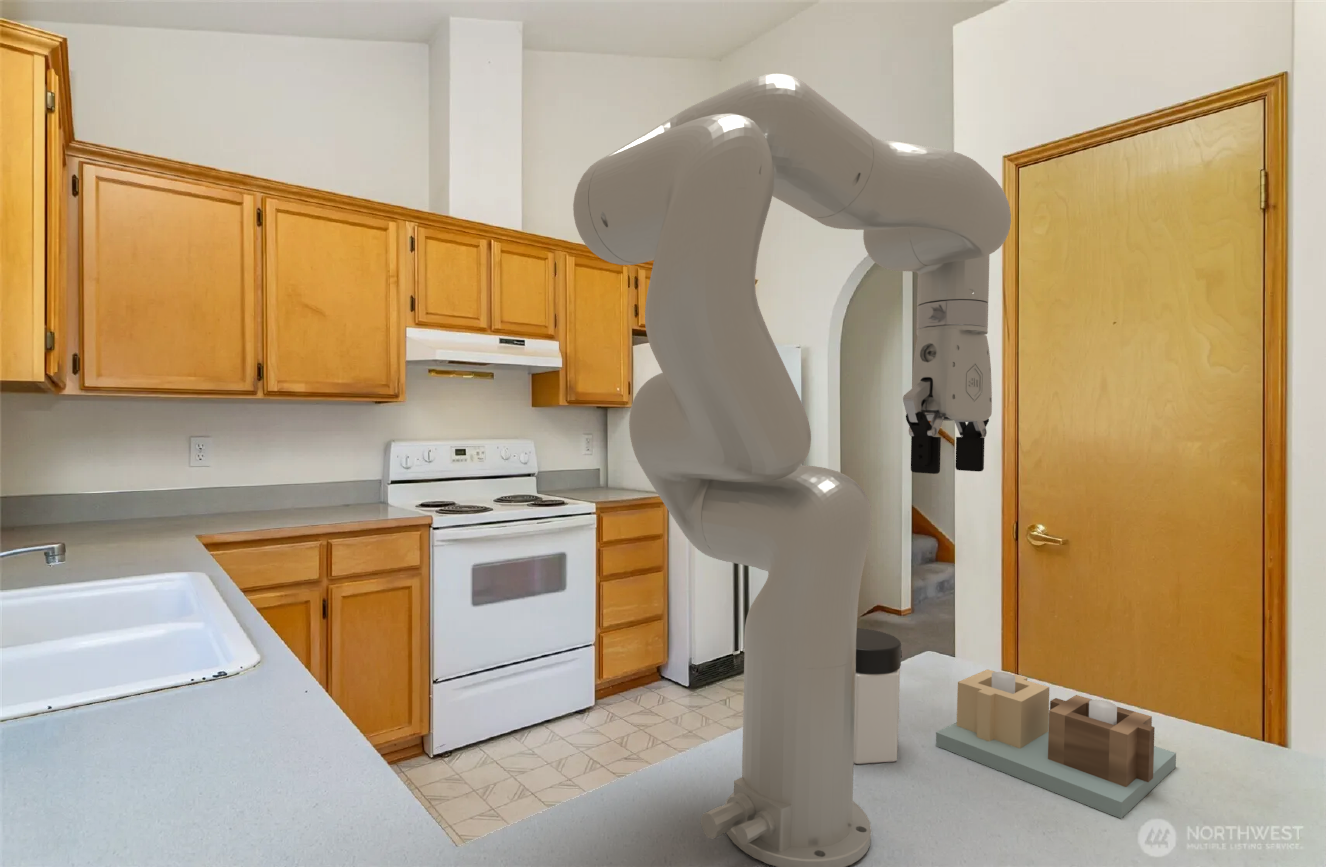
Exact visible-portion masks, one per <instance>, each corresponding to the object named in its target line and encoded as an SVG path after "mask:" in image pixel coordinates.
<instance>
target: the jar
mask: <svg viewBox="0 0 1326 867" xmlns="http://www.w3.org/2000/svg"><path fill="white" fill-rule="evenodd" d="M902 653H903V652H902V642H901V640H900V639H898V638H897V637H896V636H894V635H892V634H890V633H887V632H883V631H878V630H874V629H869V628H862V627H861V628H858V627H857V633H856V683H855V725H854V764H856V765H861V764H877V763H878V764H879V763H891V762H896V761H897V760H898V751H899V735H900V734H899V732H900V731H899V730H900V729H899V727H900V725H899V724H900V723H899V722H900V720H899V719H900V694H901V693H900V690H901V688H900V684H901V667H902V658H903V656H902V655H903V654H902Z"/></svg>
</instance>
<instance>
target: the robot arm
mask: <svg viewBox="0 0 1326 867" xmlns="http://www.w3.org/2000/svg"><path fill="white" fill-rule="evenodd" d="M773 197H774V198H775V199H777V200H778V201H780V202H783V203H785V204H787V205H788V206H790V207H792V208H794V209H796V210H797V211H798V212H801V213H802V214H804V215H806V216H807V217H810V218H812V219H813V220H815V221H817V222H818V223H820V224H822V225H823V226H826V227H829V228H833V229H839V230H840V229H841V230H855V231H863V236H862V237H863V238H862V239H863V244H864V248H865V250H866V252H867V254H868V256H869V258H871V260H872V261H873V262H874V263H875V264H876V265H878V266H880V267H881V268H883V269H886V270H888V271H893V272H912V273H913V272H914V273H917V294H916V295H917V297H916V306H917V307H916V336H917V338H916V342H915V347H914V348H915V349H914V358H913V365H912V377H911V378H912V379H911V389H910V390H908V391H907V392H906V393H905V394H904V395H903V397H902V402H903V406H904V410H905V414H906V415H905V420H906V422H907V425H908V426H909V427H908V435H909V436H910V437H911V439H910V443H911V444H910V446H911V447H910V471H911V472H912V473H918V474H929V475H931V474H933V475H937V474H939V473H940V471H941V448H942V447H941V446H942V445H941V444H942V443H941V442H942V437H941V436H937V435H938V432H939V430H940V429H941V426H942V425H943V423H944V421H947V422H948V421H953V422H954V424H955V426H956V428H957V431H958V434H959V436H956V437H955V438H956V439H955V466H954V467H955V469H956V471H964V472H965V471H967V472H979V473H980V472H983V471H984V469H985V438H986V436H987V432H988V430H987V428H986V427H987V425H988V424H989V421H990V417H991V416H992V410H993V405H992V404H993V397H992V396H993V391H992V388H993V387H992V386H993V385H992V369H991V368H992V366H991V353H990V347H989V342H988V336H987V335H988V333H989V330H988V329H989V296H990V295H989V293H990V292H989V291H990V289H989V288H990V257H991V256H990V255H991V254H993V253H995V252H996V251H997V250H999V249H1000V248H1001V246H1003V244H1004V243H1005V241H1006V240H1007V238H1008V235H1009V233H1010V229H1011V222H1012V221H1011V220H1012V219H1011V218H1012V217H1011V216H1012V214H1011V206H1010V204H1009V200H1008V198H1007V196H1006V193H1005V191H1004V190H1003V188H1002V186H1001V185H1000V184H999V182H998V181H997V180H996V179H995V178H994V177H993V176H992V175H991V173H990V172H988V171H987V170H986V169H985V168H984V167H983V166H982V165H980V164H979V163H978V162H977V161H976V160H974V159H973V158H971V157H969V156H967V155H965V154H962V153H959V152H956V151H953V150H950V149H945V148H940V147H933V146H926V145H921V144H915V143H908V142H903V141H896V140H889V139H888V140H887V139H881V138H880V139H879V138H877V137H875V136H873V135H872V134H871V133H869V131H867V130H866V129H865V128H864V127H863V126H860V124H858V123H857V122H855V121H854V120H853V119H852V118H851V117H849V116H848V115H846V114H845V113H844V112H843V111H841V110H840V109H839V108H838V107H836V106H835V105H834V104H832V103H831V102H830V101H829V100H827V99H826V98H824V97H823V96H822V95H821V94H820V93H818V92H817V91H816V90H815V89H813V88H812V87H810V86H809V85H808V84H807V83H805V82H804V81H802V80H800V79H799V78H797V77H795V76H793V75H789V74H786V73H779V72H778V73H775V72H774V73H766V74H763V75H760V76H756V77H754V78H751V79H748V80H746V81H744V82H742V83H741V82H740V83H739V84H737V85H735V86H732V87H730V88H728V89H726V90H724V91H721V92H719V93H718V94H715V95H713V96H711V97H709V98H705V99H703V100H702V101H700V102H696V103H694V105H691V106H689V107H687V108H685V109H683V110H681V111H680V112H678V113H677V114H675V115H673V116H672V117H670V118H668V119H667V120H665V121H664V122H662V123H661V124H659V125H657V126H656V127H655V128H653V129H651V130H649V131H648V132H646V133H645V134H642V135H641V136H638V137H637V138H635V139H634V140H632V141H630V142H629V143H627V144H625V145H623V146H621V147H620V148H618V149H616V150H614V151H613V152H611V153H609V154H608V155H606V156H604V157H602V158H600V159H599V160H597V161H596V162H594V163H592V164H591V165H590V166H589V167H588V169H586V171H585V172H584V173H583V174H582V176H581V178H580V180H579V182H578V183H577V186H576V189H575V193H574V197H573V204H572V206H573V208H572V210H573V218H574V223H575V227H576V230H577V232H578V235H579V237H580V238H581V240H582V242H583V243H584V244H585V246H586V247H587V248H588V249H589V250H590V251H591V253H593V254H594V255H596V256H597V257H599V258H600V259H601V260H604V261H605V262H608V263H610V264H616V265H620V266H633V265H639V264H644V263H648V262H651V261H653V264H652V269H651V273H650V278H649V284H648V288H647V294H646V300H645V309H644V310H645V311H644V325H645V332H646V336H647V342H648V344H649V346H650V349H651V351H652V353H653V356H654V358H655V359H656V362H657V364H658V366H659V368H660V371H661V373H658V374H656V375H654V376H653V377H650V378H649V379H648V380H647V381H646V382H645V383H644V384H643V385H642V386H641V387H640V388H639V389H638V391H637V393H635V394H636V395H635V396H634V398H633V401H632V404H631V405H630V406H631V407H630V411H629V420H628V427H629V437H630V442H631V447H632V449H633V452H634V455H635V457H636V460H637V462H638V464H639V466H640V467H641V469H642V471H643V473H644V474H645V476H646V478H647V479H648V481H649V483H650V484H651V485H652V487H653V489H654V490H655V492H656V494H657V495H658V496H659V498H660V500H661V501H662V503H663V504H664V506H665V507H666V509H667V511H668V512H669V514H670V515H671V516H672V518H673V519H674V521H675V523H676V524H677V526H678V528H679V529H680V530H681V532H682V533H683V535H684V536H685V537H686V539H687V540H688V542H689V543H690V544H692V546H694V547H695V549H696V550H698V551H699V552H700V553H702V554H704V555H705V556H707V557H709V558H712V559H716V560H718V561H723V562H726V563H727V562H729V563H731V564H732V563H733V564H736V565H737V564H738V565H742V566H745V567H746V566H747V567H752V568H756V569H758V570H760V571H761V570H762V571H765V572H768V573H767V575H768V576H767V579H766V581H765V583H764V584H763V586H762V587H761V589H760V591H759V592H758V593H757V596H756V597H755V599H754V600H753V602H752V603H751V605H750V608H749V609H748V611H747V615H746V619H745V623H744V624H745V625H744V642H743V644H744V645H743V648H744V657H743V658H744V660H743V661H744V662H743V664H744V666H743V703H742V706H743V712H742V751H741V752H742V755H741V756H742V758H741V759H742V760H741V763H742V764H741V777H739V778H737V779H735V780H734V781H733V792H732V793H731V794H730V795H729V796H728V798H727V799H726V800H725V803H724V805H720V806H717V807H715V808H712V809H710V810H709V811H707V812H704V813H702V815H701V816H700V825H701V829H702V832H704V835H705V836H706V837H707V838H708V839H710V840H711V839H712V840H713V839H715V838H717V837H719V836H722V835H725V833H726V835H727V836H728V838H729V839H730V840H731V841H732V843H733V844H735V845H736V847H737V848H739V849H740V850H741V851H742V852H743V853H744V854H747V855H749V856H750V857H752V858H754V859H756V860H757V861H760V862H762V863H765V864H767V865H771V866H773V867H848V866H852V865H854V863H856V862H857V861H859V860H861V859H862V858H863V857H864V856H865V854H866V853H867V852H868V850H869V849H870V846H871V841H872V840H871V839H872V826H871V822H870V819H869V818H868V815H867V813H866V812H865V811H864V810H863V809H862V808H861V806H860V805H859V804H857V803H856V802H855V801H854V800H853V798H854V767H855V766H854V764H855V763H854V725H855V683H856V633H857V628H858V611H859V610H858V608H859V601H860V600H859V599H860V598H859V597H860V590H861V584H862V577H863V576H862V575H863V571H864V568H865V567H864V566H865V563H866V558H867V557H866V556H867V553H868V548H869V544H870V541H871V540H870V538H871V533H872V527H873V526H872V523H873V514H872V507H871V504H870V501H869V498H868V496H867V493H866V492H865V491H864V489H863V488H862V487H861V485H859V483H857V481H856V480H854V479H852V478H851V477H850V476H849V475H846V474H845V473H842V472H840V471H838V470H833V469H830V468H826V467H822V466H815V465H803V464H804V462H805V461H806V459H807V457H808V456H809V453H810V451H811V450H810V449H811V444H812V434H811V432H812V431H811V427H810V426H811V425H810V422H809V418H808V416H807V412H806V410H805V408H804V405H803V403H802V400H801V398H800V396H799V393H798V392H797V389H796V387H795V385H794V383H793V381H792V378H791V376H790V374H789V373H788V370H787V368H786V366H785V364H784V361H783V359H782V357H781V355H780V353H779V351H778V349H777V347H776V344H775V342H774V340H773V339H772V335H771V334H770V332H769V329H768V327H767V324H766V322H765V319H764V317H763V314H762V311H761V309H760V306H759V302H758V298H757V293H756V291H757V290H756V275H757V274H756V271H757V264H758V256H759V251H760V250H759V249H760V244H761V240H762V236H763V231H764V228H765V224H766V222H767V221H766V220H767V218H768V213H769V210H770V207H771V202H772V198H773Z"/></svg>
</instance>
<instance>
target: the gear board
mask: <svg viewBox="0 0 1326 867" xmlns="http://www.w3.org/2000/svg"><path fill="white" fill-rule="evenodd" d="M956 697H957V698H956V722H953V723H951V724H950V725H949V726H946V727H944V728H942V729H940V730H938V731H936V732H935V733H936V734H935V735H936V736H935V738H936V739H935V741H936V742H935V746H936V747H938V748H941V749H943V750H946V751H949V752H951V753H954V754H956V755H959V756H961V757H963V758H966V759H969V760H972V761H974V762H976V763H979V764H982V765H984V766H987V767H989V768H992V769H994V770H997V771H999V772H1001V773H1004V774H1006V775H1009V776H1012V777H1014V778H1017V779H1020V780H1023V781H1024V782H1026V783H1029V784H1032V785H1034V786H1037V787H1040V788H1041V789H1045V790H1047V791H1049V792H1052V793H1055V794H1057V795H1060V796H1062V797H1065V798H1068V799H1070V800H1073V801H1075V802H1078V803H1081V804H1082V805H1086V806H1088V807H1091V808H1092V809H1095V810H1099V811H1100V812H1103V813H1106V814H1108V815H1111V816H1113V817H1115V818H1118V819H1121V820H1122V819H1123V818H1124V817H1125V816H1126V815H1127V814H1128V813H1129V812H1130V811H1131V810H1133V808H1134V807H1135V806H1136V805H1137V804H1139V802H1141V801H1142V800H1143V799H1144V798H1145V797H1146V796H1147V795H1149V793H1150V792H1151V791H1152V790H1153V789H1154V788H1155V787H1156V786H1157V785H1158V784H1159V783H1161V782H1162V781H1163V780H1164V779H1165V778H1166V777H1167V776H1168V775H1169V774H1170V773H1171V772H1172V771H1173V770H1174V769H1175V768H1176V766H1177V765H1176V764H1177V752H1174V751H1171V750H1169V749H1166V748H1161V747H1158V746H1155V745H1154V765H1153V779H1152V780H1151V781H1149V782H1145V781H1143V780H1140V779H1137V778H1136V779H1135V780H1134V781H1133V782H1132V783H1131V784H1129V785H1128V786H1127V787H1124V786H1121V785H1118V784H1116V783H1113V782H1110V781H1107V780H1105V779H1102V778H1099V777H1096V776H1093V775H1091V774H1088V773H1085V772H1082V771H1080V770H1077V769H1074V768H1071V767H1069V766H1066V765H1063V764H1060V763H1057V762H1055V761H1052V760H1049V759H1048V735H1049V710H1050V686H1047V685H1043V684H1040V683H1037V682H1033V681H1030V680H1028V677H1026V676H1022V675H1019V674H1011V673H1008V672H1004V671H1003V672H1002V671H995V670H991V669H985V670H983V671H980V672H977V673H975V674H973V675H971V676H968V677H966V678H964V679H961V680H959V681H957V696H956ZM1117 707H1118V705H1116V704H1114V703H1113V702H1111V701H1110V702H1109V701H1108V700H1103V699H1092V700H1090V701H1089V717H1090V718H1093V719H1096V720H1100V721H1103V722H1106V723H1109V724H1113V725H1117Z"/></svg>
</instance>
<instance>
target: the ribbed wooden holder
mask: <svg viewBox="0 0 1326 867" xmlns="http://www.w3.org/2000/svg"><path fill="white" fill-rule="evenodd" d="M1090 700H1093V699H1092V698H1088V697H1084V696H1082V695H1078V694H1075V695H1074V696H1071V697H1070V698H1068V699H1066V700H1065V699H1064V700H1063V699H1060V698H1057V697H1055V698H1053V699H1051V700H1049V735H1048V759H1049V760H1052V761H1055V762H1057V763H1060V764H1063V765H1066V766H1069V767H1071V768H1074V769H1077V770H1080V771H1082V772H1085V773H1088V774H1091V775H1093V776H1096V777H1099V778H1102V779H1105V780H1107V781H1110V782H1113V783H1116V784H1118V785H1121V786H1124V787H1127V786H1128V785H1129V784H1131V783H1132V782H1133V781H1134V780H1135V779H1136V778H1137V779H1140V780H1143V781H1145V782H1149V781H1151V780H1152V779H1153V765H1154V746H1155V726H1152V725H1153V724H1152V723H1153V722H1152V721H1153V720H1152V719H1153V716H1152V715H1148V714H1144V713H1141V712H1138V711H1133V710H1131V709H1127V708H1123V707H1119V706H1117V725H1113V724H1109V723H1106V722H1103V721H1100V720H1096V719H1093V718H1090V717H1089V701H1090Z"/></svg>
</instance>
